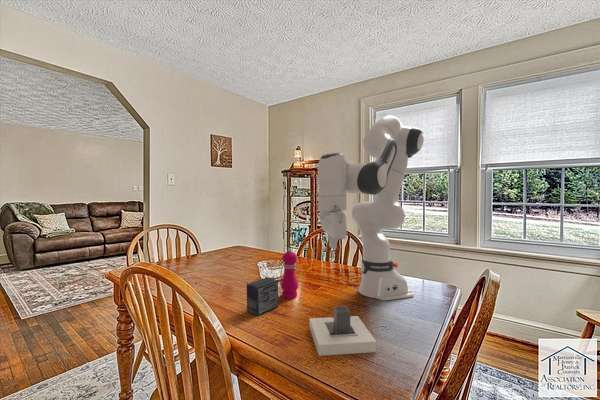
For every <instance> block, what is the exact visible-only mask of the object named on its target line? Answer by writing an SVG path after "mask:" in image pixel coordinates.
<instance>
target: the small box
mask: <svg viewBox="0 0 600 400" xmlns="http://www.w3.org/2000/svg"><path fill="white" fill-rule="evenodd" d="M278 282H279V280H278V279H275V278H271V277H264V278H261V279H258V280H254V281H252V282H248V283H246V312H247V313H249V314H251V315H255V316H257V317H259V316H261V315H262V316H263V315H264V314H266V313H268V312H270V311H273V310H275V309H277V308H279V289H278V288H279V286H278V285H279V283H278Z"/></svg>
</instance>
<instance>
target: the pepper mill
mask: <svg viewBox="0 0 600 400" xmlns="http://www.w3.org/2000/svg"><path fill="white" fill-rule="evenodd" d="M281 259H282V262H283V269H284V275H283V278H282V280H281V283H280V289H281V290H282V291H281V297H282V298H283V299H285V300H286V299H288V300H290V299H291V300H292V299H296V298H297V297H298V289H299V281H298V278H297V276H296V273H295V271H296V270H295V269H296V267H297V265H296V264H297V263H296V262H297V260H298V257H297V254H296V253H295V252H293V250H292V248H290V247H288V248H287V252H285V253H283V255H282V258H281Z"/></svg>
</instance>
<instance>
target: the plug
mask: <svg viewBox="0 0 600 400" xmlns="http://www.w3.org/2000/svg"><path fill="white" fill-rule="evenodd" d="M350 316H351V311H350V309H349V307H348V306H345V305H343V306H341V305H340V306H333V317H334V333H333V335H342V334H350Z"/></svg>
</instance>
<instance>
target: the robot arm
mask: <svg viewBox="0 0 600 400" xmlns="http://www.w3.org/2000/svg"><path fill="white" fill-rule="evenodd" d="M424 137H425V135H424V132H423V130H422V129H420V128H419V127H415V126H412V127H411V126H406V125H402V123H401V121H400V119H399V118H398V117H396V116H394V115H386V116H384V117H382V118H380V119H379V120H377V121H376V122H375V123H373V125H372V126H371V127H370V128H369V130H368V131H367V132H366V134H365V135H364V137H363V139H362V140H363V141H362V142H363V148H364V150H365V151H366V153H367V154H368V155H369V156H371V157H373V158H374V159H375V160H374V161H371V162H366V163H365V162H363V163H351V162H349V161H347V160H346V158H345V155H344V153H342V152H331V153H326V154H323V155H322V156H320V158H319V161H318V166H317V184H318V188H319V190H318V193H317V197H318V198H317V200H318V201H317V209H318V211H319V220H320V227H321V229H322V231H324V232H325V233H327V237H328V247H329V248H330V249H331V250H336V249H337V248H338V240H345V239H346V238H347V235H348V231H347V230H348V229H347V218H346V214H345V212H344V211H347V194H366V195H373V196H374V195H377V196H376V200H375V201H372V200H368V201H367V200H364V201H361V202H357V203H355V204H354V206H353V207H352V209H351V217H352V219H353V221H354V222H355V223H356V225H357V226H358V229H359V232H360V235H361V240H362V241H361V242H362V259H361V266H360V267H361V279H360V283H359V284H360V285H359V287H358V293H359V294H360V295H362V296H364V297H366V298H367V297H368V298H373V299H377V300H380V301H390V300H391V301H392V300H398V299H406V298H412V297H414V292H413V290H412V289H410V288H409V286H408V282H407V279H406V278H405V277H404V276H403V275H401V273H399V271H397V270H396V268H398V267H399V264H398V263H397V262H395V261H393V260H391V259H390V252H391V251H390V249H391V248H390V247H391V244H390V241H389V240H388V238H387V237H386V236H385V234H384V233H383V230H397V229H399V228H401V227H402V225H403V224H404V223H405V219H406V214H405V210H404V208H403V207H402V205H401V204H400V192H401V188H402V184H403V182H404V178H405V175H406V173H407V169H408V162H409V159H410V158H412V157H413V156H414V155H416V154H417V153H418V152H419V151H421V149H422V147H423V144H424V140H425V138H424ZM394 268H395V269H394Z"/></svg>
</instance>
